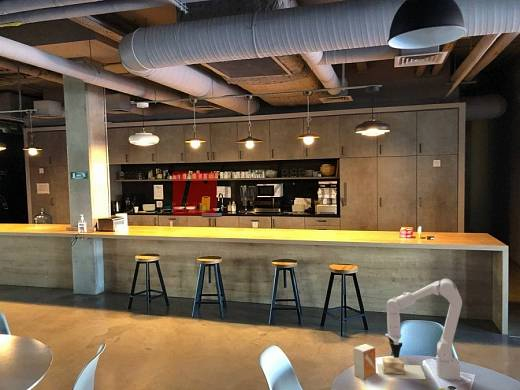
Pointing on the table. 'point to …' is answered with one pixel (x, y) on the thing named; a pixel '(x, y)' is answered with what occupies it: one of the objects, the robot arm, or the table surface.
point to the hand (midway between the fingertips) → (395, 354)
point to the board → (409, 372)
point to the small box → (364, 361)
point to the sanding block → (393, 365)
